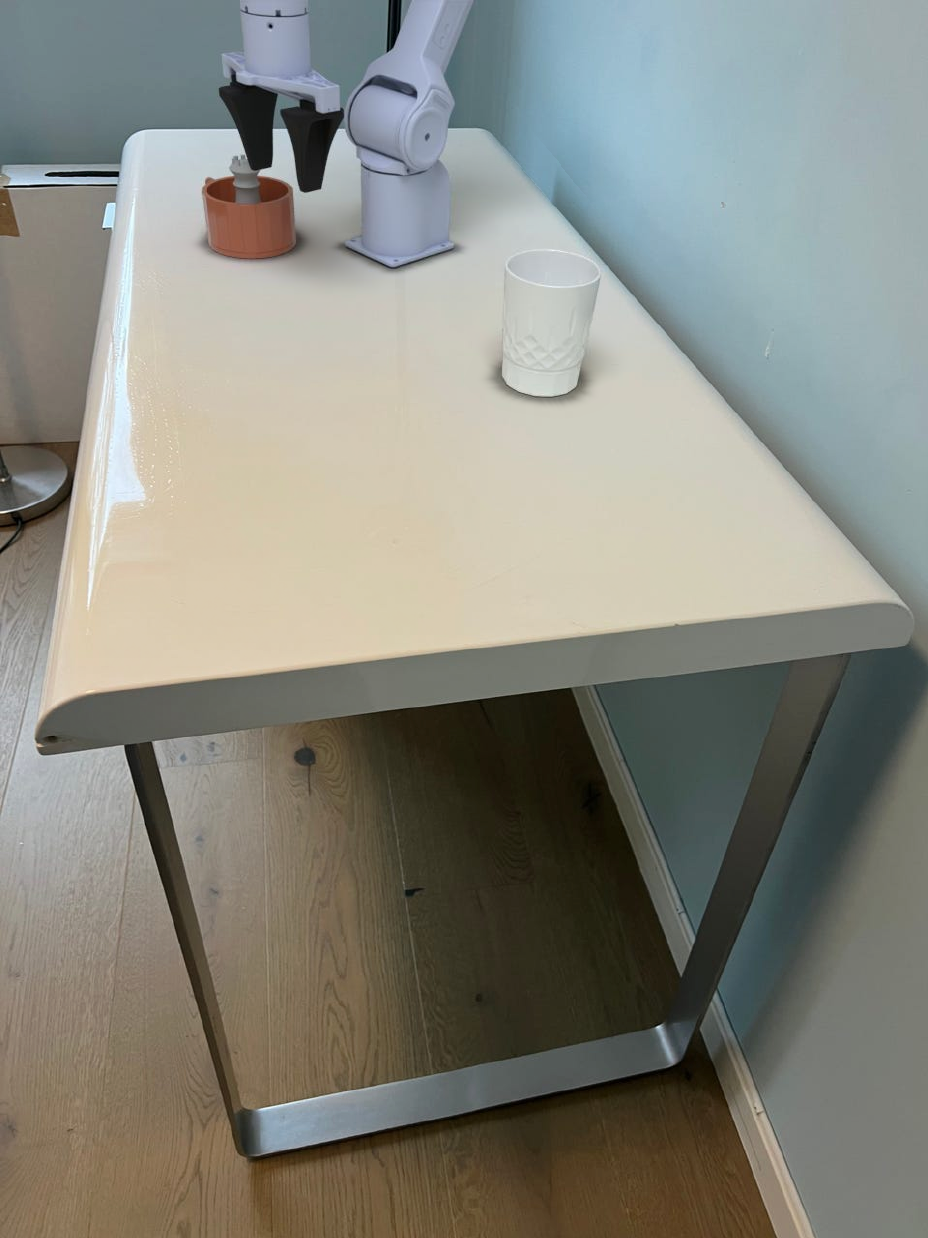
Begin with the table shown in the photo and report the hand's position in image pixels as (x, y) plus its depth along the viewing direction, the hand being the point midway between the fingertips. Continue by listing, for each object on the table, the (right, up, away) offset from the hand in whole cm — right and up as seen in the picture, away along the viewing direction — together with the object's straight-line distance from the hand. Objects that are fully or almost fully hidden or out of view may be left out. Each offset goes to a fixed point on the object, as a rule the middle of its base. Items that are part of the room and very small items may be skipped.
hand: (285, 178), depth 89 cm
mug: (-7, 0, +14) cm, 16 cm away
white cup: (+24, -21, -6) cm, 32 cm away
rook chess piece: (-6, 0, +13) cm, 15 cm away
